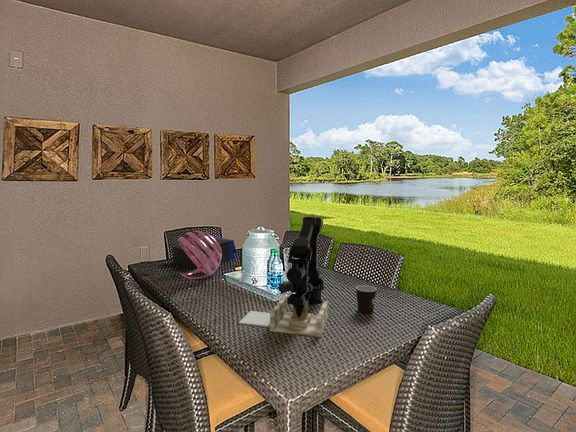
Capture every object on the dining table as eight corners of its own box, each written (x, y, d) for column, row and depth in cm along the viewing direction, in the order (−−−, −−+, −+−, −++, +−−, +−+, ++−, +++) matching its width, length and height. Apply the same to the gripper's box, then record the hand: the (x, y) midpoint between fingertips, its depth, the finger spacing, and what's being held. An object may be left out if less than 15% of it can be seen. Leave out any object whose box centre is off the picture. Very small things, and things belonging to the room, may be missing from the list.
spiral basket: (162, 250, 179) (203, 218, 190) (160, 252, 205) (196, 224, 215) (197, 291, 183) (235, 257, 194) (190, 288, 209) (224, 258, 219)
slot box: (283, 312, 147) (283, 297, 146) (328, 317, 142) (328, 301, 141) (270, 331, 130) (270, 313, 129) (320, 337, 125) (320, 318, 124)
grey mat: (250, 312, 148) (250, 310, 148) (277, 315, 145) (277, 313, 145) (239, 323, 136) (239, 322, 136) (268, 327, 133) (268, 325, 133)
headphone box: (237, 259, 243) (236, 239, 241) (194, 269, 216) (194, 247, 214) (215, 254, 258) (214, 235, 257) (173, 263, 232) (172, 242, 230)
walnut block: (295, 313, 139) (295, 299, 138) (307, 314, 137) (308, 300, 137) (292, 318, 134) (292, 303, 133) (305, 319, 133) (305, 304, 132)
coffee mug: (364, 316, 143) (364, 293, 142) (351, 309, 151) (351, 287, 150) (385, 311, 149) (386, 288, 148) (371, 304, 156) (372, 283, 155)
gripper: (286, 268, 145) (286, 303, 147) (273, 281, 127) (273, 321, 129) (313, 269, 142) (312, 306, 144) (303, 283, 124) (302, 325, 126)
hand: (300, 314), depth 135 cm, fingers closed on walnut block, 5 cm apart
